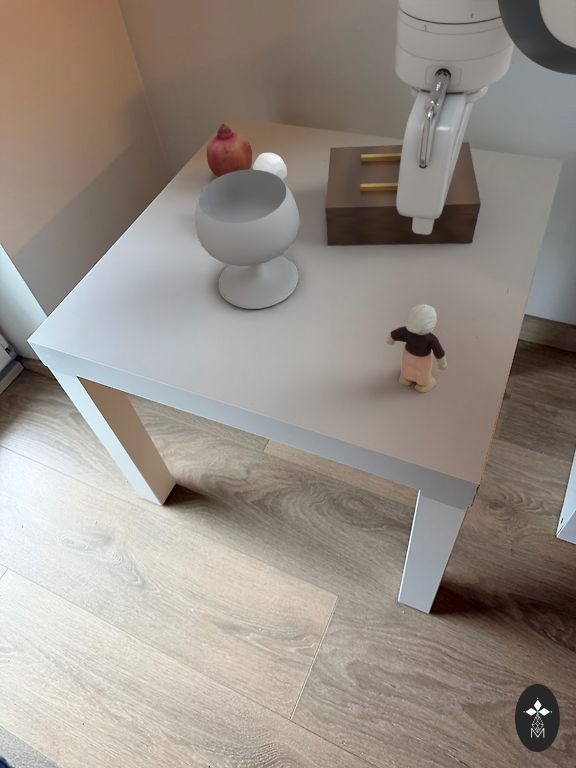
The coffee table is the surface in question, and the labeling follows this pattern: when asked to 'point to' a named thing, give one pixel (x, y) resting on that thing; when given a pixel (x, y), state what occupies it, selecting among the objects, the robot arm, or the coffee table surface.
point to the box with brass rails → (392, 199)
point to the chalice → (250, 236)
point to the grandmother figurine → (419, 348)
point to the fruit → (228, 152)
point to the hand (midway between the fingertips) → (432, 198)
